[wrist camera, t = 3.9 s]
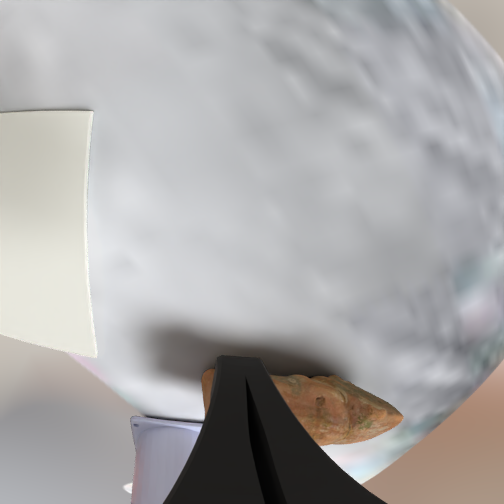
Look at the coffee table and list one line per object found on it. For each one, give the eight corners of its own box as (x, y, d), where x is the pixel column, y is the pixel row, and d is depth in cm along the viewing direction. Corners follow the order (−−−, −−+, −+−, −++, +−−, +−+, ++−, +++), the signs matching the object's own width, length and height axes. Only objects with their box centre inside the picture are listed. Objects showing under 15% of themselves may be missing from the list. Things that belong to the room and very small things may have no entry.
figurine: (181, 373, 21) (334, 351, 29) (201, 479, 18) (351, 430, 25) (235, 353, 15) (405, 326, 22) (265, 507, 11) (426, 422, 19)
